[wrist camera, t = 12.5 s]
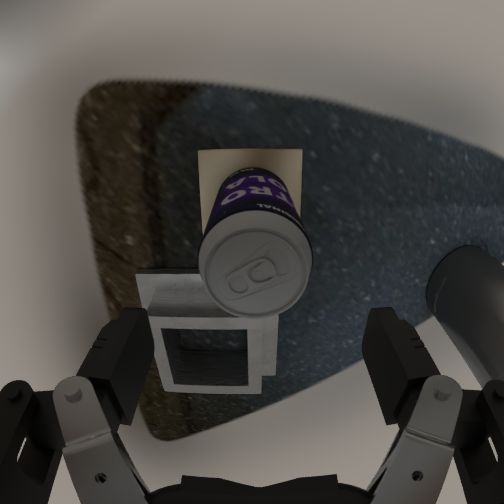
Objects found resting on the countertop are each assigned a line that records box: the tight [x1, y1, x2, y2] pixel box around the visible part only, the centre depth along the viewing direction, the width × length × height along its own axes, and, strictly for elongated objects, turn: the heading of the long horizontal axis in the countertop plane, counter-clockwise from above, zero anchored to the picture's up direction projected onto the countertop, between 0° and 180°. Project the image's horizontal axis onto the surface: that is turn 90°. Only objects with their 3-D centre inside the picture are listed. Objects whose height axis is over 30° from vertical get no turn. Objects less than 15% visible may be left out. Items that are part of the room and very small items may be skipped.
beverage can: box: [197, 167, 313, 319], centre depth 20 cm, size 6×6×12 cm
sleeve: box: [135, 269, 279, 394], centre depth 29 cm, size 13×13×5 cm
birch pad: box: [198, 148, 302, 234], centre depth 26 cm, size 8×8×1 cm
